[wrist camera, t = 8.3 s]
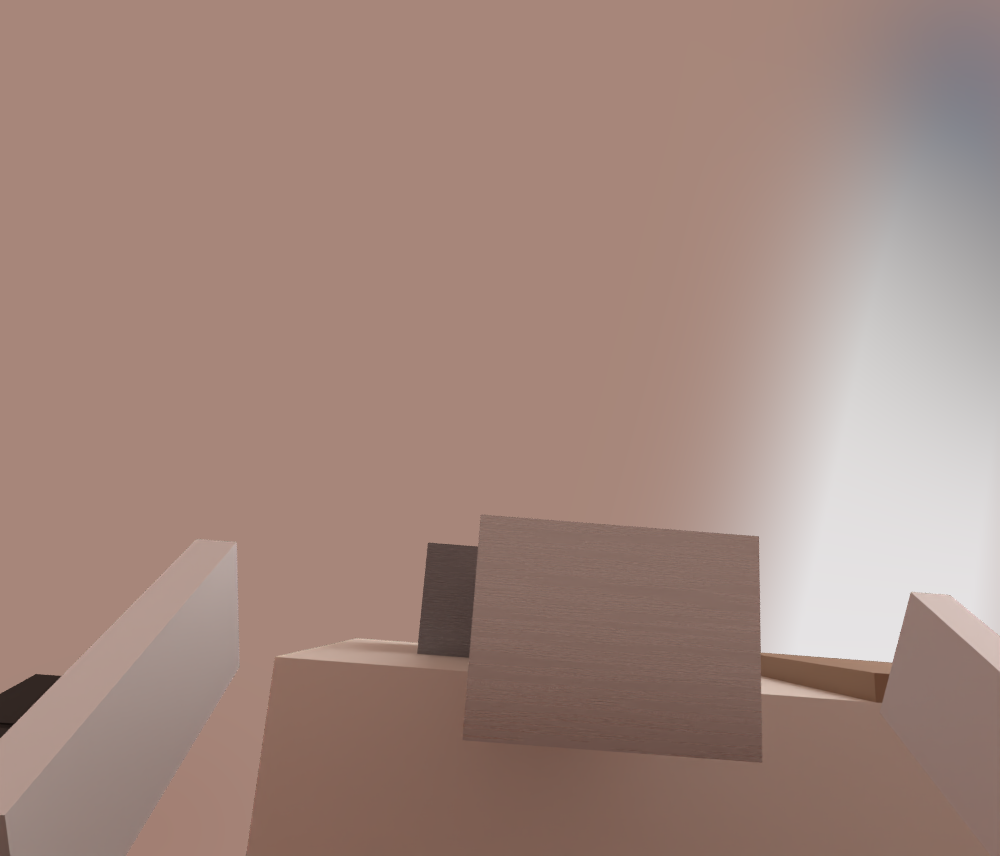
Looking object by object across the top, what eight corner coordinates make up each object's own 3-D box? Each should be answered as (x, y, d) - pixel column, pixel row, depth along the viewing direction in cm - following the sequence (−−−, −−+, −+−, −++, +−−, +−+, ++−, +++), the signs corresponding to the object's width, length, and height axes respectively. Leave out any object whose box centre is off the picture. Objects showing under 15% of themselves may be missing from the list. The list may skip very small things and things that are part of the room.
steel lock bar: (911, 773, 10) (892, 478, 11) (311, 728, 9) (350, 435, 10) (607, 659, 32) (610, 568, 33) (428, 646, 32) (437, 554, 33)
